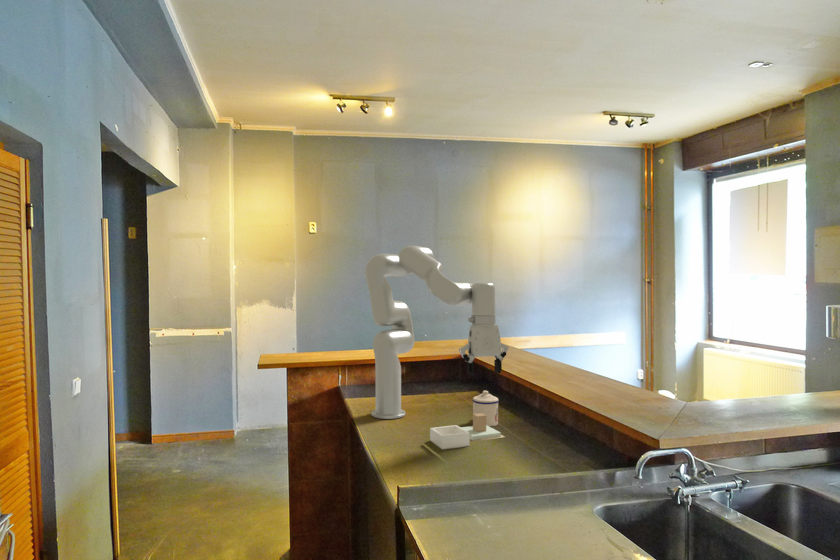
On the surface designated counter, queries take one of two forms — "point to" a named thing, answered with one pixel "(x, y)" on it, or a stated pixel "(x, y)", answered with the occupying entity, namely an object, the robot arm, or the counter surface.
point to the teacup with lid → (486, 407)
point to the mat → (486, 438)
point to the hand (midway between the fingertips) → (484, 373)
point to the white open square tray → (449, 437)
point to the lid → (481, 428)
